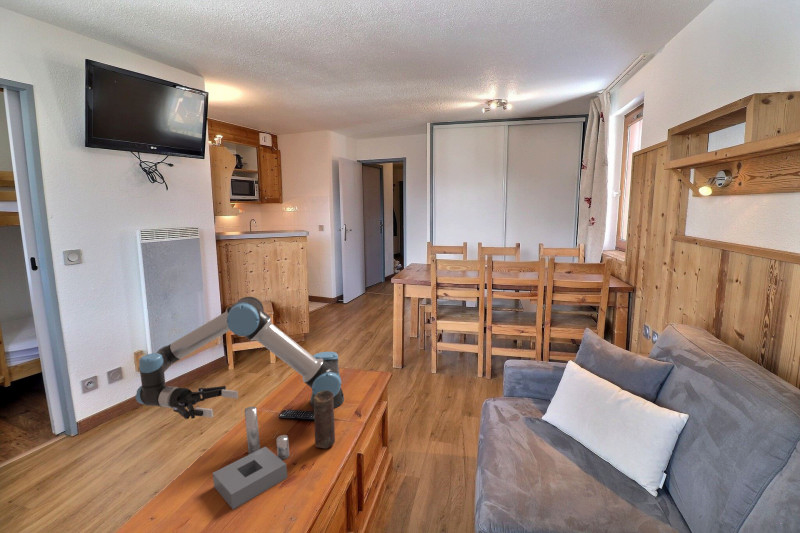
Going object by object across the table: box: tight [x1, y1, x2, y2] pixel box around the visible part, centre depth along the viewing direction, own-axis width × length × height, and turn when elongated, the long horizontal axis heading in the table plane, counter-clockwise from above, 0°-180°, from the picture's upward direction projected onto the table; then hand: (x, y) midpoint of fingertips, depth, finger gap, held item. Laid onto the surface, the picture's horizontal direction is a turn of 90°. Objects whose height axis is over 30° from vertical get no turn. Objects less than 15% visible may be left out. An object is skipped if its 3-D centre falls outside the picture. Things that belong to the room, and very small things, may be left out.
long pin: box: [244, 406, 261, 455], centre depth 138 cm, size 4×4×17 cm
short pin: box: [276, 434, 290, 461], centre depth 136 cm, size 4×4×7 cm
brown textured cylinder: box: [313, 391, 336, 449], centre depth 141 cm, size 8×7×20 cm
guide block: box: [212, 446, 288, 510], centre depth 123 cm, size 18×14×5 cm
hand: (225, 403), depth 138 cm, fingers open, 13 cm apart
